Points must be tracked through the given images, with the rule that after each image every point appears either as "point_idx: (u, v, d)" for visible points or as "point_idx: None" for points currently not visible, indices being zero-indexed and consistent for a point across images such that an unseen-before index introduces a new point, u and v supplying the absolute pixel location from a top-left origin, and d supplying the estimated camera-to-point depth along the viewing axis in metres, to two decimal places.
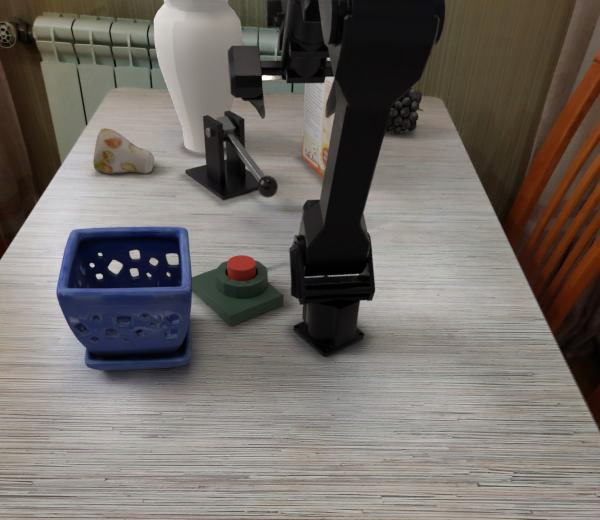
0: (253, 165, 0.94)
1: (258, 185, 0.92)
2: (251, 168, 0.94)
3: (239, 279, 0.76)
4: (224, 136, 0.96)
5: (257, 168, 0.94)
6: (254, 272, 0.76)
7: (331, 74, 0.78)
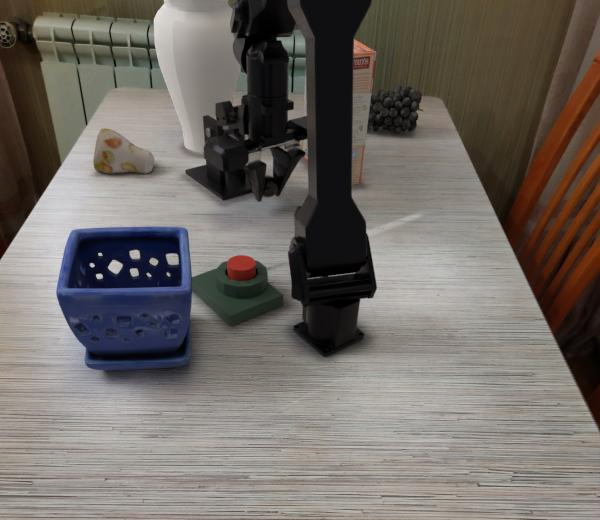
0: None
1: None
2: None
3: (239, 279, 0.76)
4: None
5: None
6: (254, 272, 0.76)
7: None
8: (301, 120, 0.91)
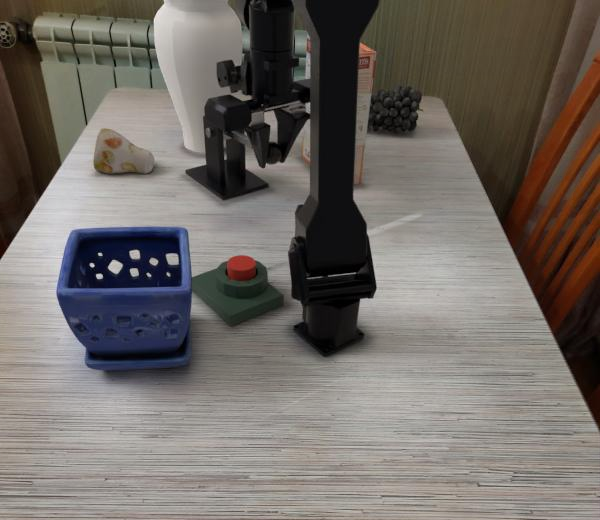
0: None
1: None
2: None
3: (239, 279, 0.76)
4: (224, 132, 0.95)
5: None
6: (254, 272, 0.76)
7: None
8: (307, 82, 0.86)
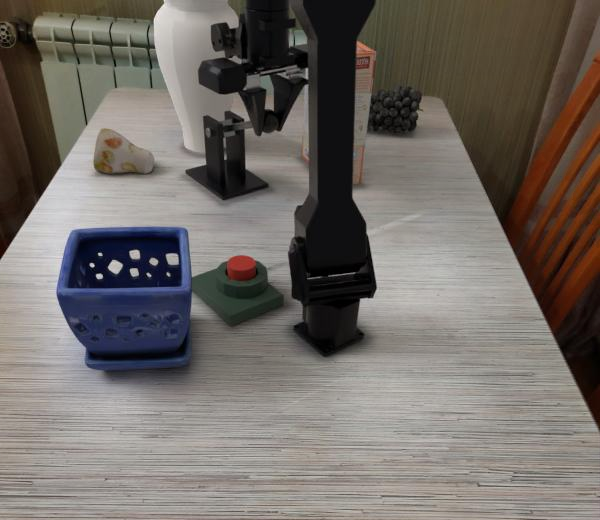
0: None
1: None
2: (250, 122, 0.89)
3: (239, 279, 0.76)
4: (224, 129, 0.95)
5: None
6: (254, 272, 0.76)
7: (292, 67, 0.83)
8: (304, 47, 0.84)
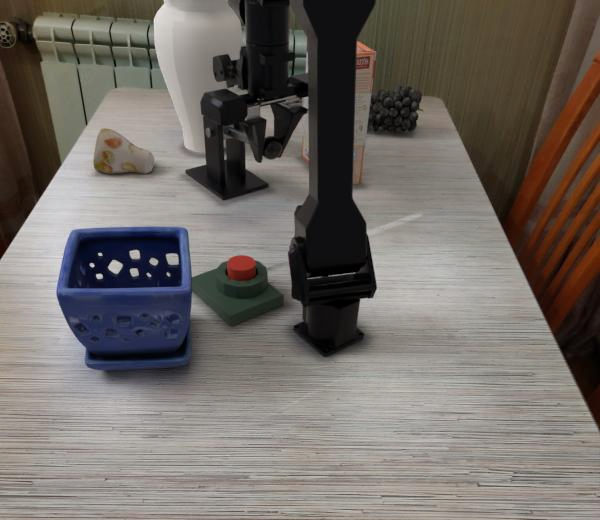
0: None
1: None
2: None
3: (239, 279, 0.76)
4: (224, 132, 0.95)
5: None
6: (254, 272, 0.76)
7: None
8: (303, 76, 0.87)
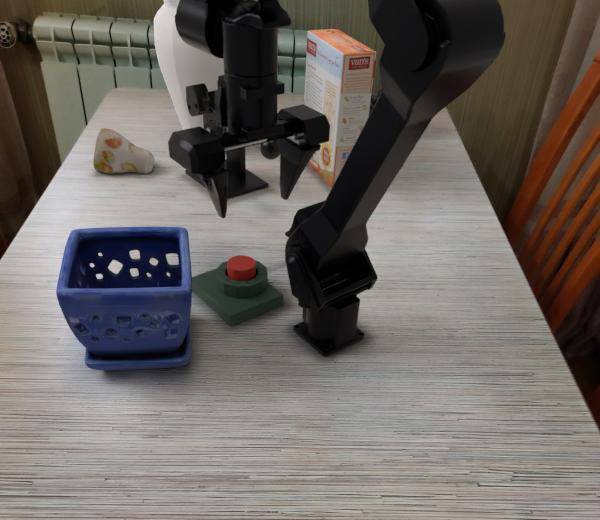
0: None
1: (260, 147, 0.88)
2: None
3: (239, 279, 0.76)
4: (224, 132, 0.95)
5: None
6: (254, 272, 0.76)
7: (282, 135, 0.71)
8: (296, 110, 0.71)
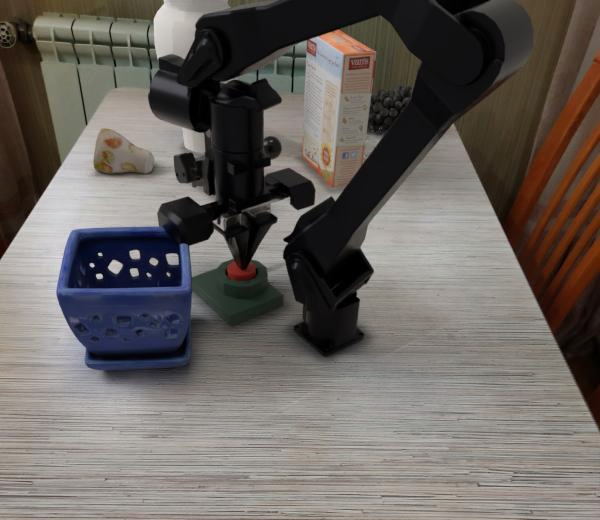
0: None
1: None
2: None
3: None
4: None
5: None
6: (254, 277, 0.77)
7: None
8: (283, 174, 0.73)
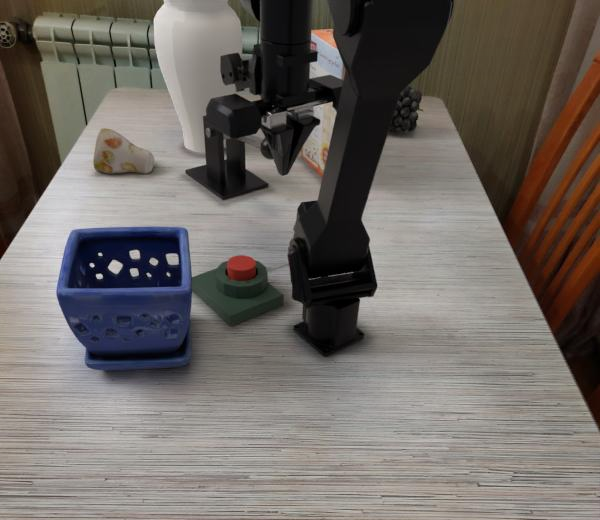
0: (253, 138, 0.90)
1: (260, 147, 0.88)
2: (253, 141, 0.90)
3: (239, 279, 0.76)
4: None
5: (258, 138, 0.90)
6: (254, 272, 0.76)
7: None
8: (325, 79, 0.75)
